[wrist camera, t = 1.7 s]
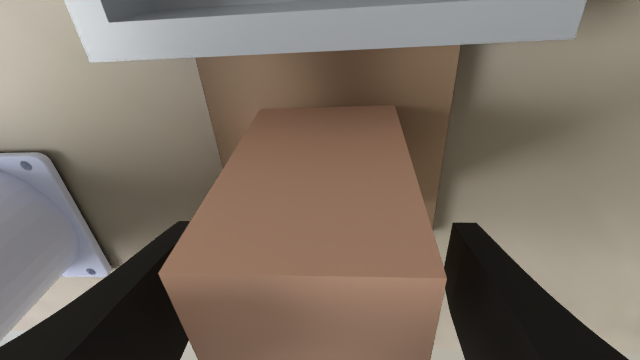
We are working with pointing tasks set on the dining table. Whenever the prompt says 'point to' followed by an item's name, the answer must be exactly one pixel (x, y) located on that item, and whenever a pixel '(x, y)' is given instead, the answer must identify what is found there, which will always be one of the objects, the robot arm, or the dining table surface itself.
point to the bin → (308, 25)
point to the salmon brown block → (311, 245)
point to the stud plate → (340, 95)
